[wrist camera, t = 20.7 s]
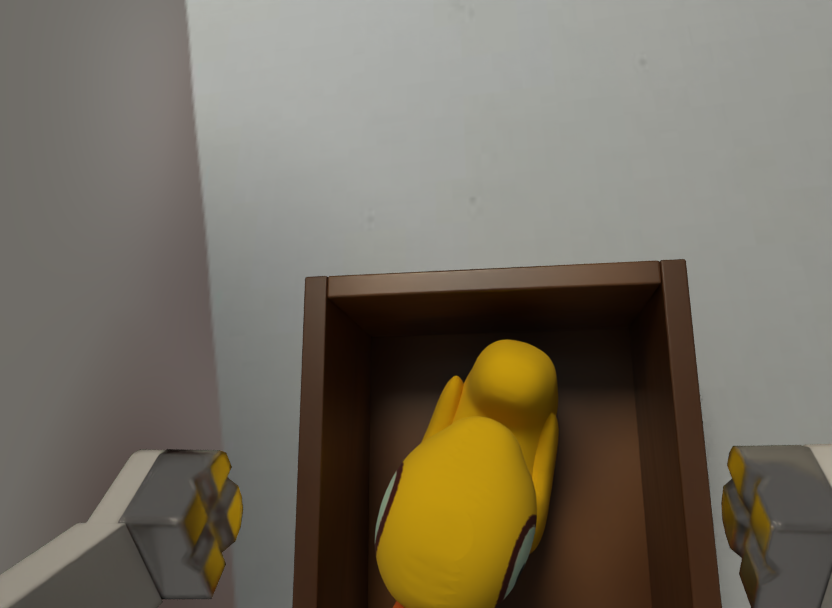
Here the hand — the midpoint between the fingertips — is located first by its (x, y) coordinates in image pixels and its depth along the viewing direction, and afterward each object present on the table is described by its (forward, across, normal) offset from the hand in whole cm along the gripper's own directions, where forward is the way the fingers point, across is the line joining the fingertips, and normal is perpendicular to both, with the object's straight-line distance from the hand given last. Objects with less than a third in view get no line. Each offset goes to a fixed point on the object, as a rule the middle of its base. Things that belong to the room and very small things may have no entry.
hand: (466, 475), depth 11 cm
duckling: (+12, +1, +13) cm, 17 cm away
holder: (+12, 0, +13) cm, 18 cm away
